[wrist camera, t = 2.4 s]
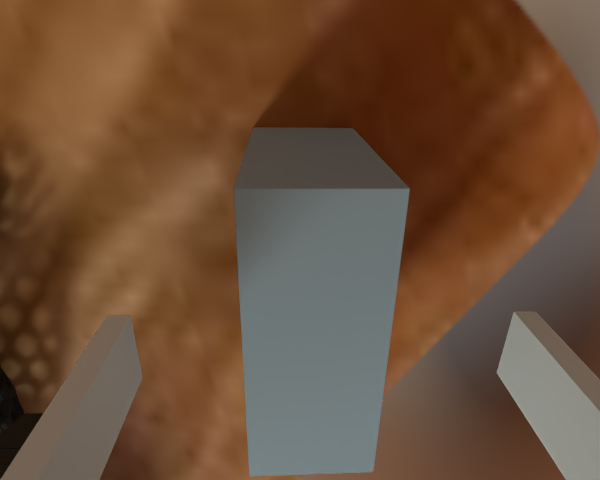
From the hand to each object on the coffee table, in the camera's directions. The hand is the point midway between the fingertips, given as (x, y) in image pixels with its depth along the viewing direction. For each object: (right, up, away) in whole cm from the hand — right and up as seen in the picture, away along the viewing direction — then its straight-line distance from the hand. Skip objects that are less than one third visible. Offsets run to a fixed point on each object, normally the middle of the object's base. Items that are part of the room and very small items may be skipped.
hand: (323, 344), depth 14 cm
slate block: (-1, +4, +9) cm, 10 cm away
